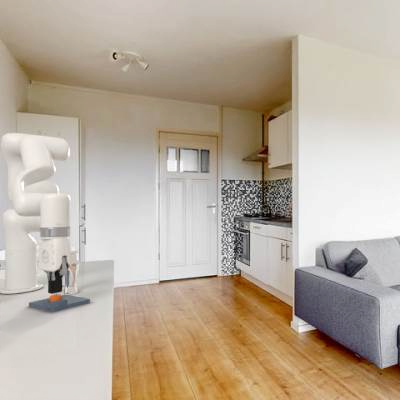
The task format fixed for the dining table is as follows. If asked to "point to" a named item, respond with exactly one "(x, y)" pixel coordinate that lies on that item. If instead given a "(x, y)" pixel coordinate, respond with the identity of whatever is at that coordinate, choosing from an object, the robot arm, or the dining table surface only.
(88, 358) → the dining table surface
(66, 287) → the beer glass
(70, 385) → the dining table surface
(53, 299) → the button
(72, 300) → the scale
